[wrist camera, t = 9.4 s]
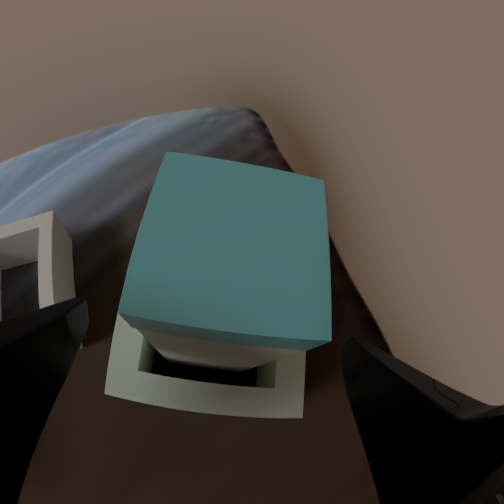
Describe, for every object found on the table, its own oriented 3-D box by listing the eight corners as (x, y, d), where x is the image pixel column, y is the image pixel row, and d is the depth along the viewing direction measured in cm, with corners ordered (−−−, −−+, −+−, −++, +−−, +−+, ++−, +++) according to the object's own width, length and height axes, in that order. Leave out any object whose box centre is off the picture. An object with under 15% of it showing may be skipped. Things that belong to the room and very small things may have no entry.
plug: (241, 372, 17) (331, 340, 6) (168, 362, 16) (117, 313, 5) (247, 304, 19) (323, 180, 8) (178, 293, 18) (166, 151, 8)
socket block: (277, 411, 16) (302, 417, 12) (125, 392, 15) (104, 393, 11) (284, 275, 21) (306, 246, 17) (150, 254, 19) (141, 219, 15)
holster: (82, 347, 15) (57, 336, 12) (-4, 360, 13) (-37, 350, 9) (72, 240, 18) (53, 210, 15) (-6, 261, 16) (-32, 237, 12)
